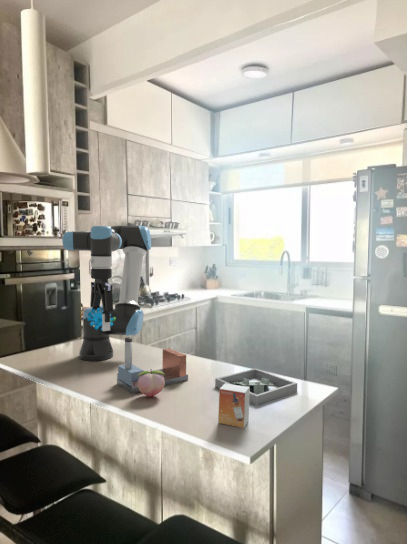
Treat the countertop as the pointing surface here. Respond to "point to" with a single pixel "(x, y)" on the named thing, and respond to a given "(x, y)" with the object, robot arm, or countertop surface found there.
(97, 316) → the gear
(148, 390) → the decorative fruit
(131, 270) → the robot arm
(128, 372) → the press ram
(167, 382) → the frame
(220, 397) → the small box
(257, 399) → the parts tray
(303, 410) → the countertop surface
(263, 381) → the metal bracket
